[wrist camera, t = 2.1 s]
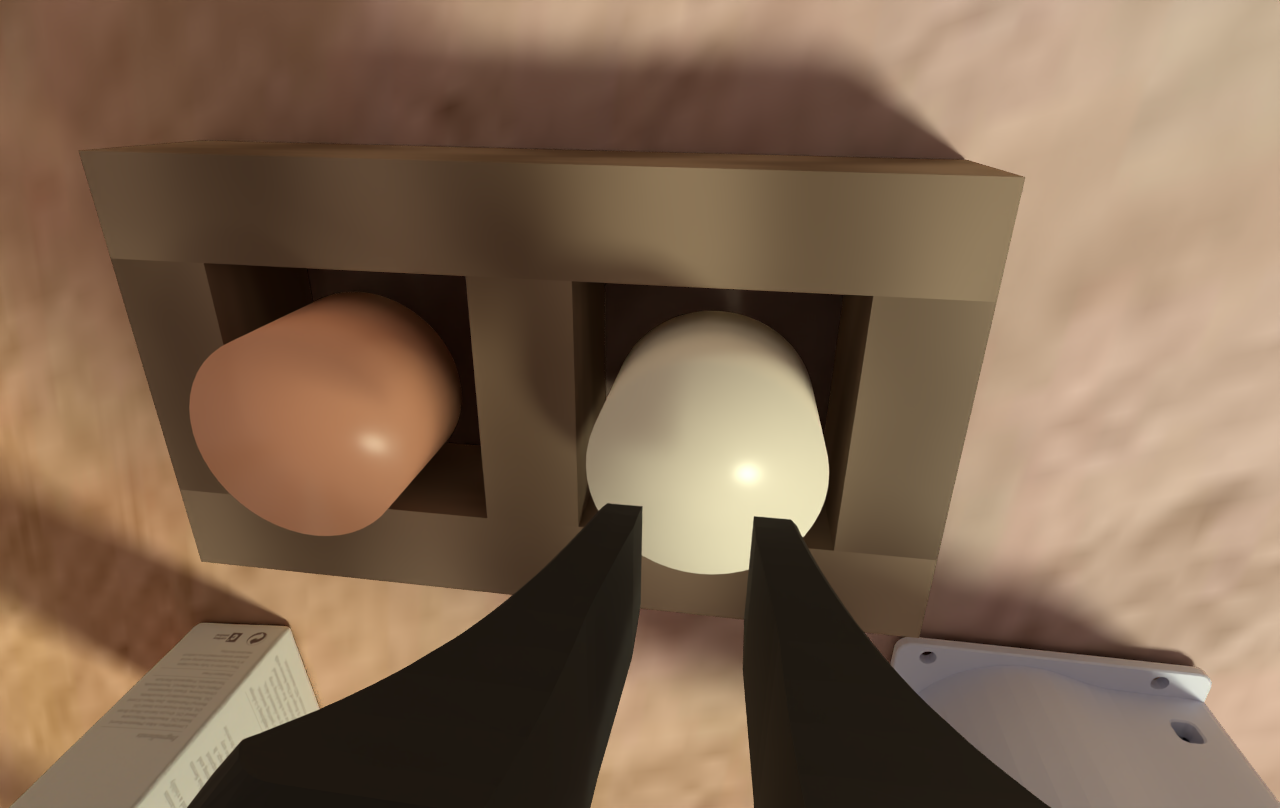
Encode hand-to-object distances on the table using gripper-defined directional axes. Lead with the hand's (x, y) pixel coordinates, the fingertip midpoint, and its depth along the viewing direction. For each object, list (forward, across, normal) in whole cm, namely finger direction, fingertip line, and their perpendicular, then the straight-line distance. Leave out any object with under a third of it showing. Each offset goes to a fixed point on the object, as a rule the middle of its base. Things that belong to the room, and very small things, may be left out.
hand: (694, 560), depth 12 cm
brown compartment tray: (+9, +5, 0) cm, 10 cm away
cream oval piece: (+6, 0, 0) cm, 6 cm away
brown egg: (+6, +9, 0) cm, 11 cm away
